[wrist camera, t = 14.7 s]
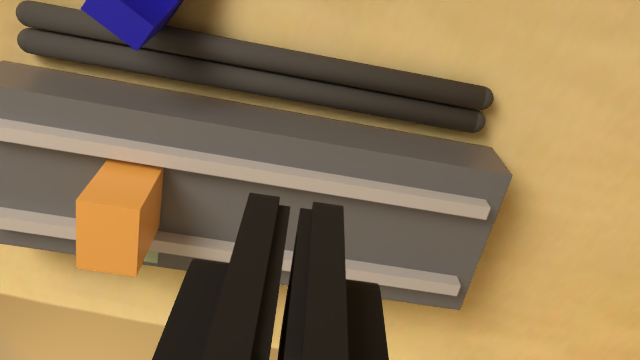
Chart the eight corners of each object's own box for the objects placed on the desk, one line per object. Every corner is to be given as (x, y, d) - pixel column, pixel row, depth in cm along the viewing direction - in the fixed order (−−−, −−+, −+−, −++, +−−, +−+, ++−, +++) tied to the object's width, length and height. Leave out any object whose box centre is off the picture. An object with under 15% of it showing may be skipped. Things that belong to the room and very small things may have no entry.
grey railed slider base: (491, 147, 35) (518, 183, 31) (446, 273, 40) (463, 320, 35) (2, 60, 32) (-47, 86, 28) (12, 207, 36) (-30, 250, 32)
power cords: (492, 85, 33) (499, 92, 32) (477, 129, 35) (483, 138, 33) (22, -4, 30) (10, 0, 29) (25, 47, 32) (13, 53, 30)
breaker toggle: (163, 166, 31) (139, 210, 26) (159, 226, 33) (136, 276, 28) (109, 157, 30) (75, 200, 26) (107, 218, 32) (76, 268, 28)
